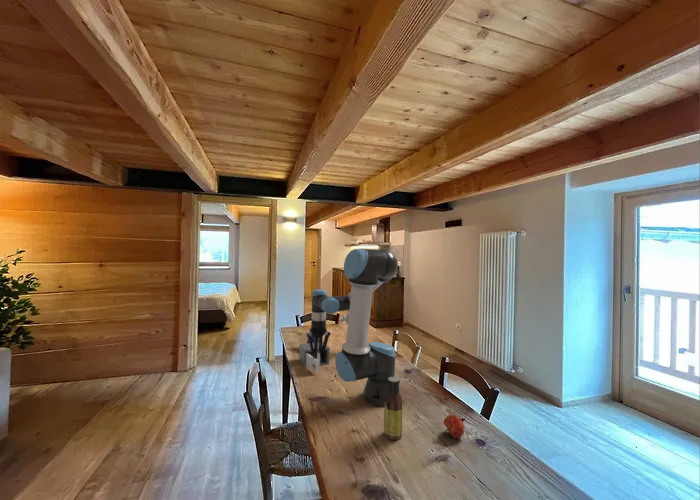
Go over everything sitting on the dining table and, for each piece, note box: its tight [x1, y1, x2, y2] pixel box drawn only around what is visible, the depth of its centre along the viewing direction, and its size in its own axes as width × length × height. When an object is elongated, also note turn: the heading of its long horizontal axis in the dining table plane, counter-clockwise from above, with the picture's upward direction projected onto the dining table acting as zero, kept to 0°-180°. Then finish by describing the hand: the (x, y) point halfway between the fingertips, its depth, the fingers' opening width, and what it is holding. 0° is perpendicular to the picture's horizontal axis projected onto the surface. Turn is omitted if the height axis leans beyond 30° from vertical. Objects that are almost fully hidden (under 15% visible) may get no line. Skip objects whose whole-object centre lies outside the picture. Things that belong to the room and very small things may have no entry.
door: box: [306, 353, 319, 374], centre depth 160 cm, size 2×12×7 cm, turn 33°
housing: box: [299, 341, 330, 368], centre depth 173 cm, size 12×14×9 cm
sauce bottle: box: [383, 376, 404, 441], centre depth 105 cm, size 6×6×20 cm
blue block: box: [306, 327, 319, 343], centre depth 194 cm, size 6×20×15 cm, turn 174°
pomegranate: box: [442, 414, 467, 439], centre depth 107 cm, size 7×7×10 cm
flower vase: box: [339, 312, 349, 326], centre depth 189 cm, size 13×18×25 cm
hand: (317, 364), depth 159 cm, fingers closed
